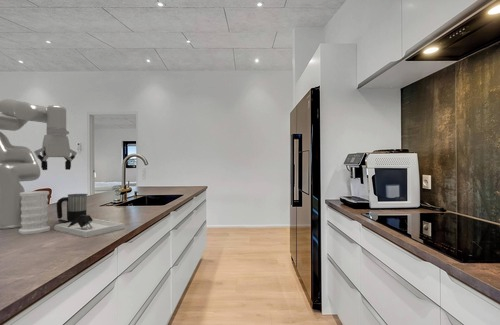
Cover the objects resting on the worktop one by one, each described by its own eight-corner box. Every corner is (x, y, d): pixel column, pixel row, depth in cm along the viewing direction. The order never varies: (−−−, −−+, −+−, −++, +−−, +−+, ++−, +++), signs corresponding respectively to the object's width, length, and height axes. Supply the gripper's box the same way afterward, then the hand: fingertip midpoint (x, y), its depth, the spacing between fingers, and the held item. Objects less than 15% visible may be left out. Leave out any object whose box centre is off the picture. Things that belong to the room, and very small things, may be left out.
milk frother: (85, 219, 156) (85, 192, 156) (92, 223, 144) (92, 195, 145) (54, 223, 147) (54, 194, 147) (59, 228, 135) (59, 197, 135)
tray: (54, 230, 130) (54, 225, 130) (92, 223, 146) (92, 218, 146) (86, 237, 117) (86, 231, 117) (124, 228, 133) (124, 223, 133)
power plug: (69, 225, 134) (89, 210, 134) (78, 238, 134) (98, 223, 134) (61, 228, 129) (82, 213, 128) (70, 241, 128) (91, 226, 128)
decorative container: (47, 226, 138) (47, 190, 138) (52, 230, 129) (52, 192, 129) (17, 231, 129) (17, 192, 129) (20, 235, 121) (20, 194, 121)
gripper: (71, 134, 139) (71, 169, 139) (30, 131, 124) (30, 170, 124) (80, 134, 135) (80, 169, 135) (38, 130, 120) (38, 170, 120)
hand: (56, 169), depth 129 cm, fingers open, 9 cm apart
